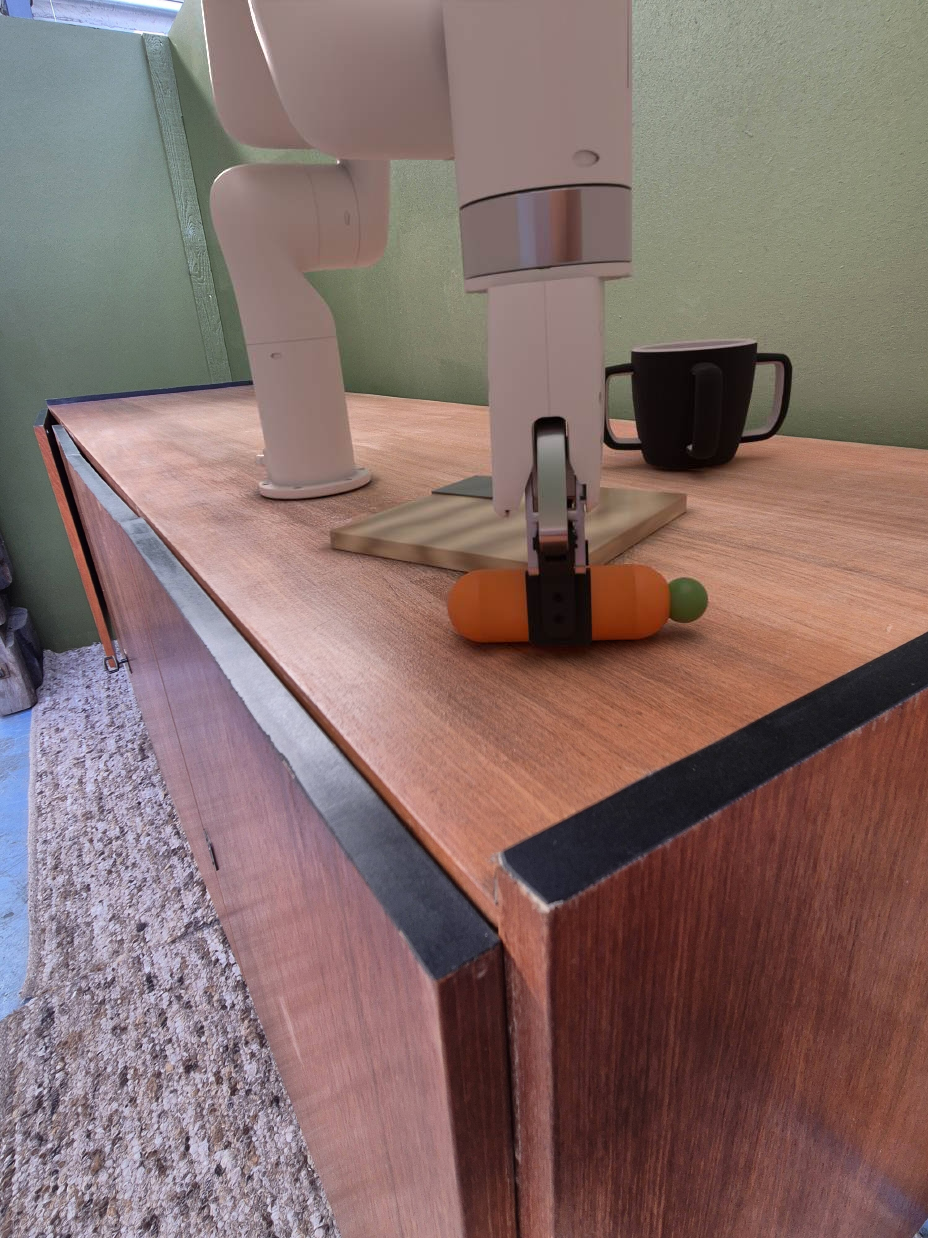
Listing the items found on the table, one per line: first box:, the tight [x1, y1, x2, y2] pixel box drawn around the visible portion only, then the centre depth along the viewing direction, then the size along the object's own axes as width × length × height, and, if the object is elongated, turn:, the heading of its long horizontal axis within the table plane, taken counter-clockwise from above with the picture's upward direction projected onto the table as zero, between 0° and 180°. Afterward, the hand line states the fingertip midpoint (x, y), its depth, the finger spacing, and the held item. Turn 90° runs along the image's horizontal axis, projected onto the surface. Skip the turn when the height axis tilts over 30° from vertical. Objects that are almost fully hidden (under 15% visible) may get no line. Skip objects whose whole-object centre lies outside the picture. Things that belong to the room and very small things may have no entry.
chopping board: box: [328, 474, 688, 573], centre depth 59 cm, size 22×20×2 cm
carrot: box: [446, 563, 709, 643], centre depth 38 cm, size 14×4×4 cm, turn 83°
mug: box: [603, 338, 793, 471], centre depth 74 cm, size 16×16×12 cm
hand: (561, 622), depth 39 cm, fingers closed on carrot, 4 cm apart
